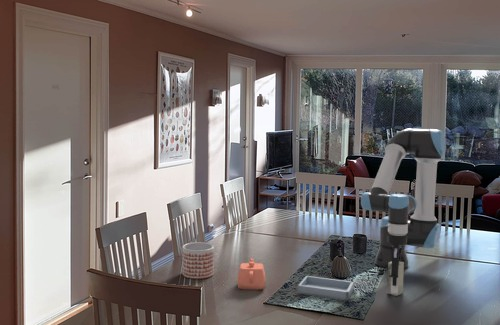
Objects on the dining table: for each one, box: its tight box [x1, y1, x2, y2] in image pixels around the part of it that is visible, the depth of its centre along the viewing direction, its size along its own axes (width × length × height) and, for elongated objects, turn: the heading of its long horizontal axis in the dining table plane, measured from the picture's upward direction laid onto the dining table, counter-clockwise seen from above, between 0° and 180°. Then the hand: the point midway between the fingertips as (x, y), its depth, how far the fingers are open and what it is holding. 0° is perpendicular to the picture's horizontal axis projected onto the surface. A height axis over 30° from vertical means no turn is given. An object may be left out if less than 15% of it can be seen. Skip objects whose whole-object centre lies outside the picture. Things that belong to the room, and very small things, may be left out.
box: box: [386, 261, 405, 297], centre depth 203 cm, size 5×4×13 cm
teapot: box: [237, 257, 266, 291], centre depth 210 cm, size 12×18×10 cm, turn 178°
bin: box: [297, 275, 355, 301], centre depth 205 cm, size 13×20×3 cm, turn 69°
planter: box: [181, 241, 215, 280], centre depth 224 cm, size 14×14×13 cm
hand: (395, 290), depth 204 cm, fingers closed on box, 6 cm apart
